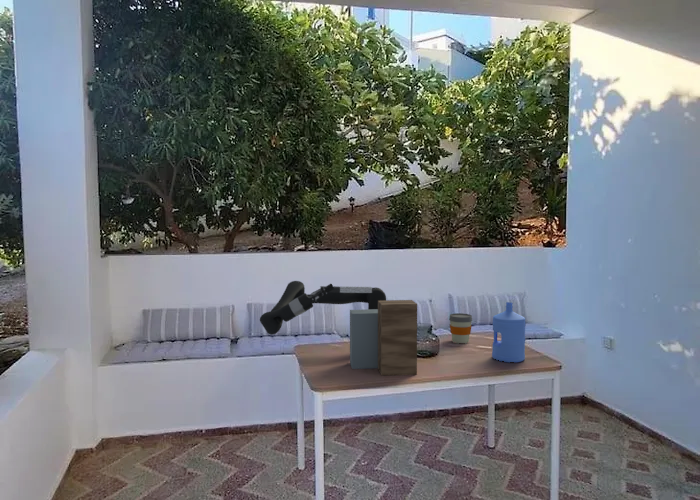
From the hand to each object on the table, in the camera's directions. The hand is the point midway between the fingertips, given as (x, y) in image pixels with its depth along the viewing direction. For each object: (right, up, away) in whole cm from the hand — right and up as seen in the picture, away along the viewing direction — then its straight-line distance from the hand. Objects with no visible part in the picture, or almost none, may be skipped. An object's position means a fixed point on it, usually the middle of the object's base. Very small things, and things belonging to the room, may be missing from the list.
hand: (332, 285), depth 245 cm
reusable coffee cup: (+70, -35, +50) cm, 93 cm away
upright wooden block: (+30, -39, -5) cm, 49 cm away
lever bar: (+6, -3, +1) cm, 7 cm away
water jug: (+87, -37, +15) cm, 96 cm away
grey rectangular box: (+19, -38, +5) cm, 43 cm away
